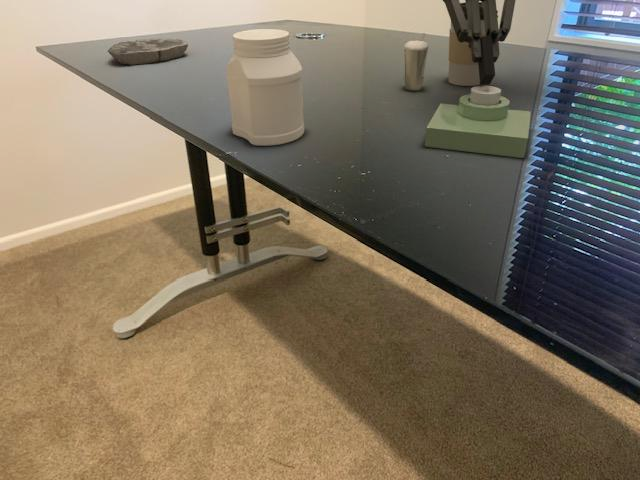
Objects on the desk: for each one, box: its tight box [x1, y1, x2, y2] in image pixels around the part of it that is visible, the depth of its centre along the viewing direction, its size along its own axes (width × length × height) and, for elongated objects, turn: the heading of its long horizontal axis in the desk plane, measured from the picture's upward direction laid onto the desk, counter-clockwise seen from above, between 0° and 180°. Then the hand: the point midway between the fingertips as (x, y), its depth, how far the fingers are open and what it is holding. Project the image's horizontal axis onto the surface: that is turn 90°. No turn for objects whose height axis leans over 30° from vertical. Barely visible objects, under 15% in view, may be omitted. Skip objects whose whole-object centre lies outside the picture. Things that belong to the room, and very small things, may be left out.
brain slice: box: [107, 38, 189, 66], centre depth 129 cm, size 20×17×3 cm
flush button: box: [469, 85, 502, 106], centre depth 77 cm, size 4×4×2 cm
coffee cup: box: [448, 1, 499, 87], centre depth 101 cm, size 9×9×15 cm
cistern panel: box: [424, 93, 532, 159], centre depth 76 cm, size 14×13×5 cm
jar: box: [225, 28, 305, 147], centre depth 77 cm, size 12×10×15 cm
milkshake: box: [403, 32, 430, 92], centre depth 98 cm, size 4×5×10 cm
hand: (487, 79), depth 76 cm, fingers closed
